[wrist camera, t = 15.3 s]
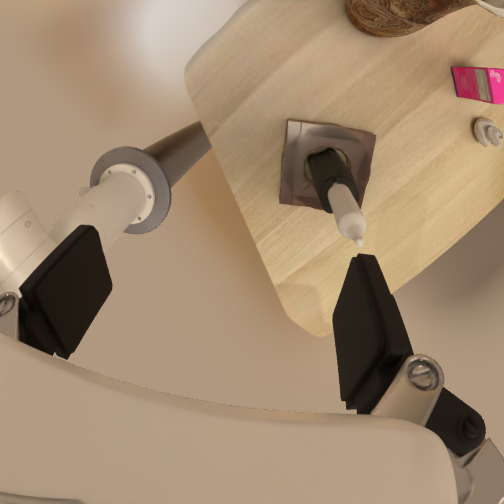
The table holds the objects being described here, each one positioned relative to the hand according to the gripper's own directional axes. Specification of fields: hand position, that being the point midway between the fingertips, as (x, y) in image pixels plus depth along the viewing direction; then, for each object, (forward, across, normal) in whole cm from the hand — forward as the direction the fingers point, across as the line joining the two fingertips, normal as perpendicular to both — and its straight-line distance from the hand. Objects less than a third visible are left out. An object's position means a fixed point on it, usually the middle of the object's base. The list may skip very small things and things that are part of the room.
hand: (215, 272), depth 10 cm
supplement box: (+38, -34, -16) cm, 54 cm away
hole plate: (+38, -10, +6) cm, 40 cm away
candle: (+38, -10, +6) cm, 40 cm away
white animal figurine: (+38, -40, -8) cm, 56 cm away
